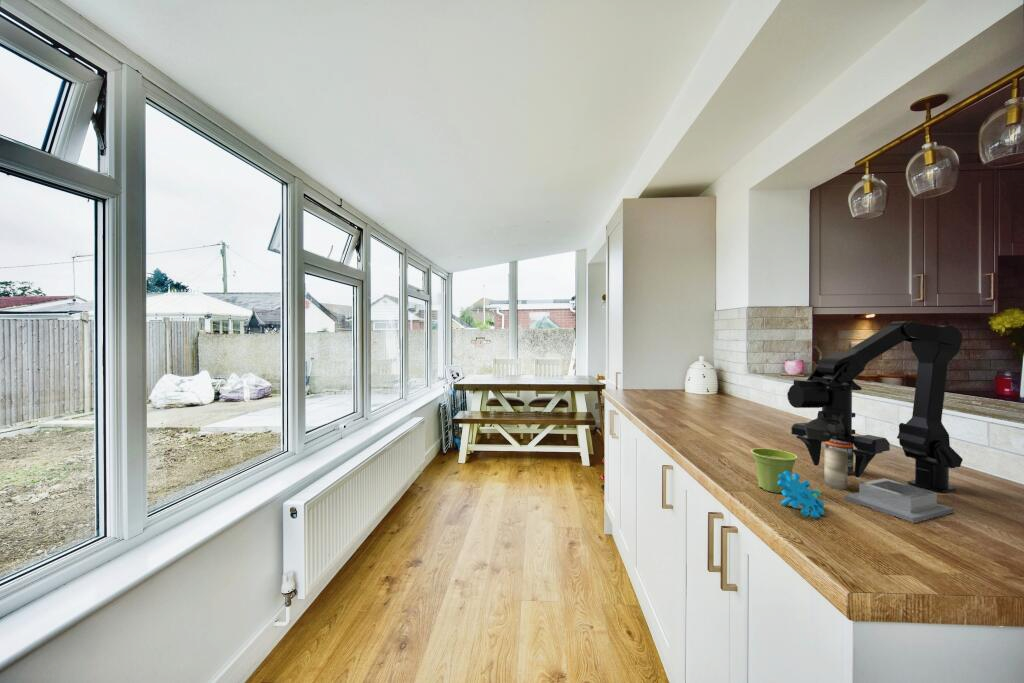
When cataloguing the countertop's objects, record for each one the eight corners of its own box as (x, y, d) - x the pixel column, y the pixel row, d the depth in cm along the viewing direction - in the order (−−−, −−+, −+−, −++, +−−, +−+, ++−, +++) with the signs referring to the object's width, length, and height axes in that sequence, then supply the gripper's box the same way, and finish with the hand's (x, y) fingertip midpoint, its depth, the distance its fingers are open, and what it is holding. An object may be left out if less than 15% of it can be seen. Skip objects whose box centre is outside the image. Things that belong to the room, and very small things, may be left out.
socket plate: (883, 491, 94) (883, 487, 94) (953, 512, 82) (953, 508, 82) (844, 499, 89) (844, 495, 89) (912, 523, 78) (912, 518, 78)
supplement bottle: (828, 466, 112) (828, 426, 112) (855, 472, 108) (855, 430, 107) (822, 471, 108) (822, 430, 108) (850, 476, 104) (851, 434, 104)
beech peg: (831, 482, 100) (832, 447, 100) (851, 488, 96) (852, 451, 96) (820, 484, 98) (820, 448, 98) (839, 490, 94) (840, 453, 94)
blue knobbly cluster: (803, 515, 77) (772, 468, 84) (780, 527, 81) (753, 481, 88) (841, 515, 81) (809, 470, 88) (817, 526, 85) (788, 482, 92)
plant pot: (753, 479, 102) (754, 445, 102) (798, 487, 96) (798, 452, 96) (747, 489, 95) (747, 454, 95) (795, 500, 89) (796, 461, 89)
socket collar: (884, 491, 91) (884, 478, 91) (936, 506, 83) (936, 492, 83) (859, 496, 88) (859, 483, 88) (910, 513, 80) (911, 498, 80)
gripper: (776, 403, 103) (776, 463, 103) (859, 417, 85) (858, 488, 86) (806, 401, 107) (805, 458, 107) (891, 414, 89) (890, 482, 89)
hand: (836, 471), depth 97 cm, fingers open, 9 cm apart
